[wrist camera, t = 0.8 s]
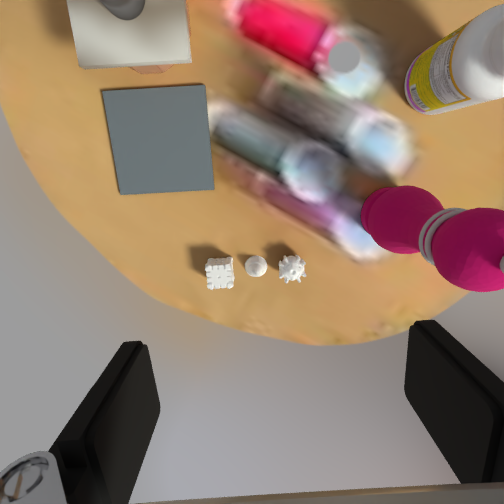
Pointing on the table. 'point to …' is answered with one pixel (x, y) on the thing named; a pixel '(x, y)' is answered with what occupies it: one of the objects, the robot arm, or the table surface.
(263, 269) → the game pieces
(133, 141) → the mat
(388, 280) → the table surface
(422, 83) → the supplement bottle
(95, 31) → the lid
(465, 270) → the pepper mill
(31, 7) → the table surface
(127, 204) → the table surface
